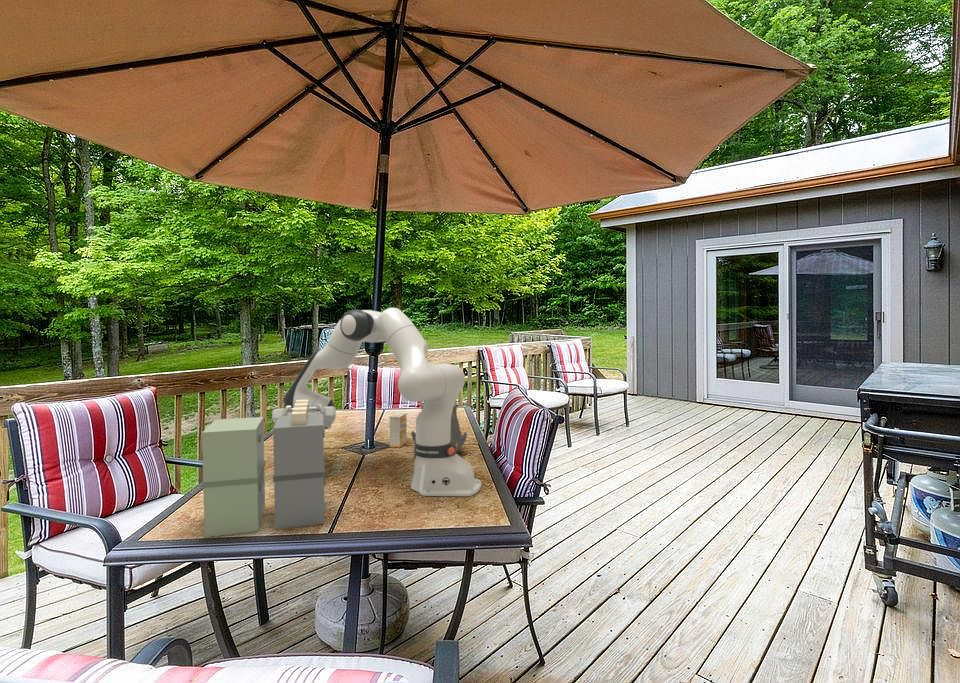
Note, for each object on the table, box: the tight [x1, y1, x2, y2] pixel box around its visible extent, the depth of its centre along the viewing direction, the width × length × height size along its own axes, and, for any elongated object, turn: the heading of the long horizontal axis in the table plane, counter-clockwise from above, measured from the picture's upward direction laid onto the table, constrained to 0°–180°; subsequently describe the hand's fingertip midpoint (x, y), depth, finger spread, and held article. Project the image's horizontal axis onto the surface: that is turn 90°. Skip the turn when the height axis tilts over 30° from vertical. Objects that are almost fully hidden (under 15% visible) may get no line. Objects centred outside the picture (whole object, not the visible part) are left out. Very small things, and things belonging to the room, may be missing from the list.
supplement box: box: [389, 412, 407, 449], centre depth 208 cm, size 8×5×13 cm, turn 168°
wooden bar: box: [292, 399, 309, 425], centre depth 139 cm, size 23×4×3 cm, turn 17°
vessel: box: [410, 401, 468, 453], centre depth 197 cm, size 22×22×20 cm
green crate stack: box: [201, 416, 266, 538], centre depth 130 cm, size 16×13×26 cm
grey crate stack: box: [272, 414, 326, 530], centre depth 135 cm, size 16×13×26 cm
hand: (303, 407), depth 161 cm, fingers open, 8 cm apart
